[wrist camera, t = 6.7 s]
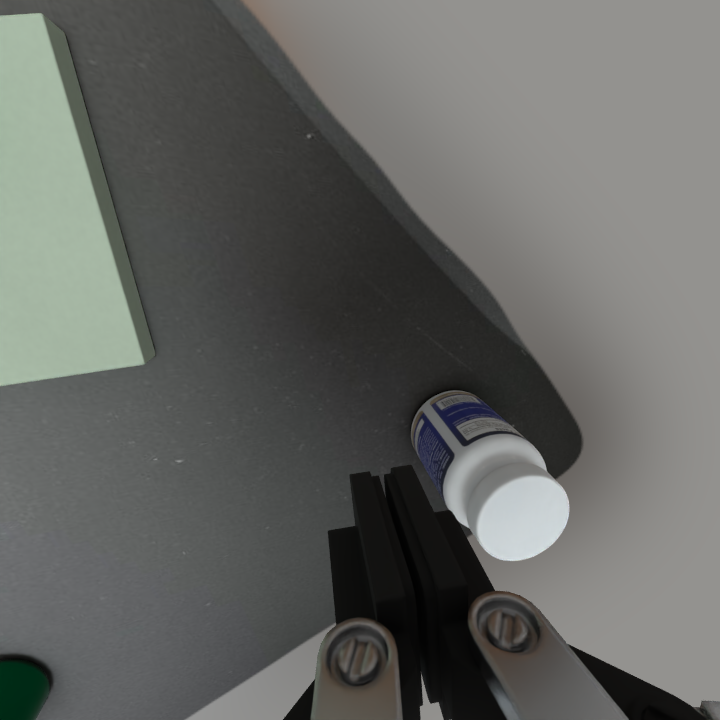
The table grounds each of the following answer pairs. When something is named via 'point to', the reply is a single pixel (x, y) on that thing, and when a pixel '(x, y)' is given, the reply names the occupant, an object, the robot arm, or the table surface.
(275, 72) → the table surface
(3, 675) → the soda can
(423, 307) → the table surface
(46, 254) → the scale
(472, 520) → the pill bottle
